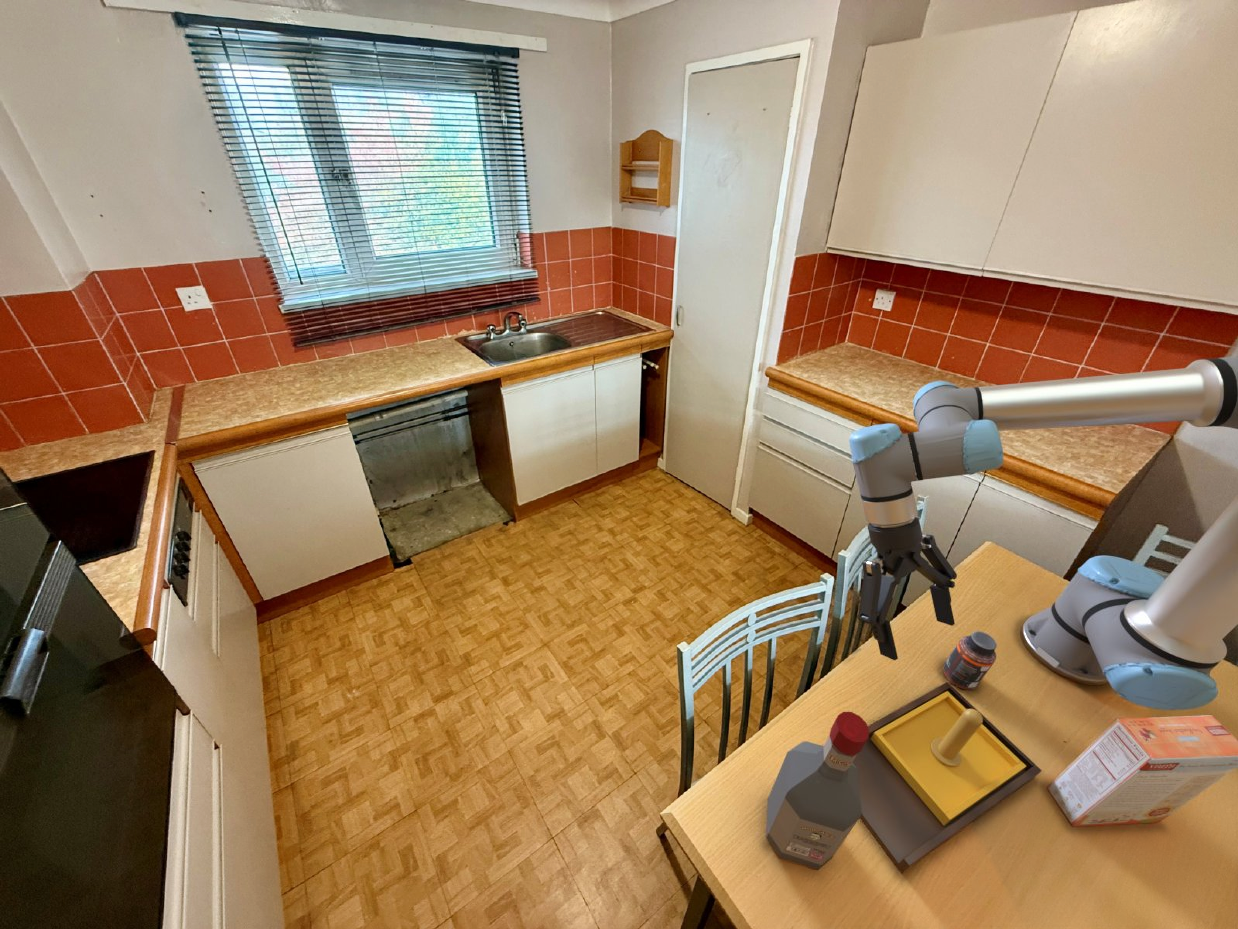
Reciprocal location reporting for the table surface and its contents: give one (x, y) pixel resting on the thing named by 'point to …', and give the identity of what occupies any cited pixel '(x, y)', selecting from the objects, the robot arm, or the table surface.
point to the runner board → (902, 812)
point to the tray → (936, 776)
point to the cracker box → (1144, 770)
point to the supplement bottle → (970, 660)
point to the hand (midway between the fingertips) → (918, 639)
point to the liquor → (817, 795)
